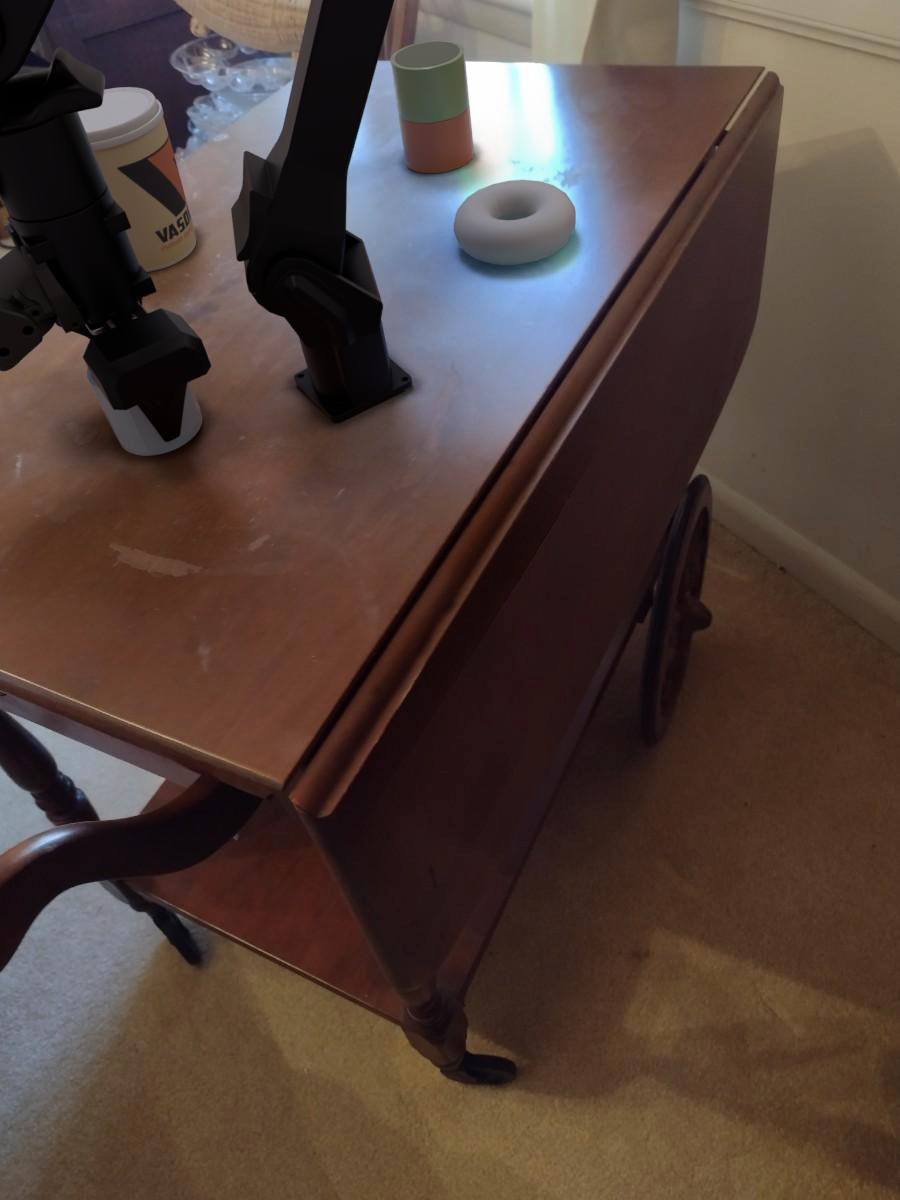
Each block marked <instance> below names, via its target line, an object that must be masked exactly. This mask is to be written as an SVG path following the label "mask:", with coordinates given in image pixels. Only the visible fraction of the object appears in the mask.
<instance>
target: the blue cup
mask: <svg viewBox="0 0 900 1200" xmlns="http://www.w3.org/2000/svg"><path fill="white" fill-rule="evenodd" d="M85 378H86V380H87V382H88V384H89V386H90V388H91V390H92V392H93V394H94V396H95V398H96V401H97V402H98V404H99V405H100V408H101V410H102V413H103V414H104V416H105V418H106V420H107V423H109V426H110V428H111V430H112V432H113V434H114V436H115V438H116V439H117V440H118V443H119V444H120V446H121V448H122V449H124V450H125V451H126V452H128V453H130V454H133V455H136V456H141V457H142V456H143V457H152V456H158V455H162V454H166V453H169V452H172V451H175V450H177V449H180V448H181V447H182V446H184V445H186V444H188V442H190V441H191V440H192V439H193V438H195V436H196V435H197V434H198V432H199V431H200V429H201V427H202V425H203V420H204V419H203V413H202V410H201V406H200V404H199V401H198V399H197V396H196V394H195V391H194V389H193V386H192V384H191V381H190V382H188V384H187V389H186V396H185V403H184V410H183V418H182V426H181V434H180V436H179V437H178V438H176V439H174V440H172V441H170V442H165V441H164V440H163V439H162V437H161V436H160V435H159V433H158V432H157V431H156V429H155V428H154V427H153V425H152V424H151V423H150V421H149V420H148V419H147V417H146V416H145V415H144V413H143V412H142V411H141V409H140V408H139V407H138V406H134V407H132V408H130V409H128V410H114V409H113V408H112V407H111V405H110V404H109V402H108V401H107V399H106V398H105V396H104V395H103V393H102V392H101V390H100V389H99V387H98V385H97V383H96V382H95V381H94V379H93V378H92V376H91V373H90V371H89V369H88V367H87V369H86V376H85Z"/></svg>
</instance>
